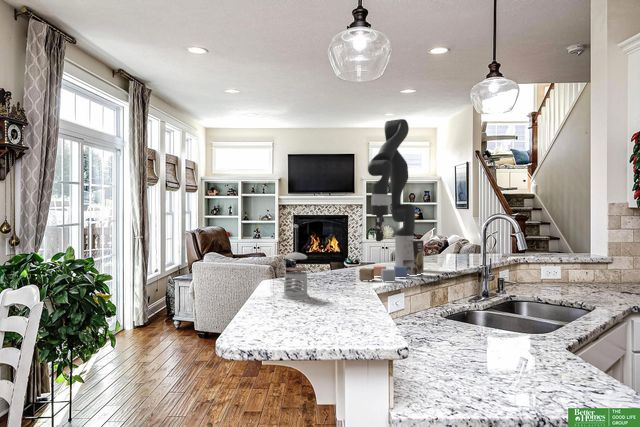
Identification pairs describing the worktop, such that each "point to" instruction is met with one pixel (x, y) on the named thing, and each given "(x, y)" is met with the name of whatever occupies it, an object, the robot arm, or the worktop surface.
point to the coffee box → (413, 256)
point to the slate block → (388, 274)
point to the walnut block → (366, 274)
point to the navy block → (400, 271)
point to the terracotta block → (378, 270)
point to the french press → (295, 277)
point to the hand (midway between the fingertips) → (379, 240)
